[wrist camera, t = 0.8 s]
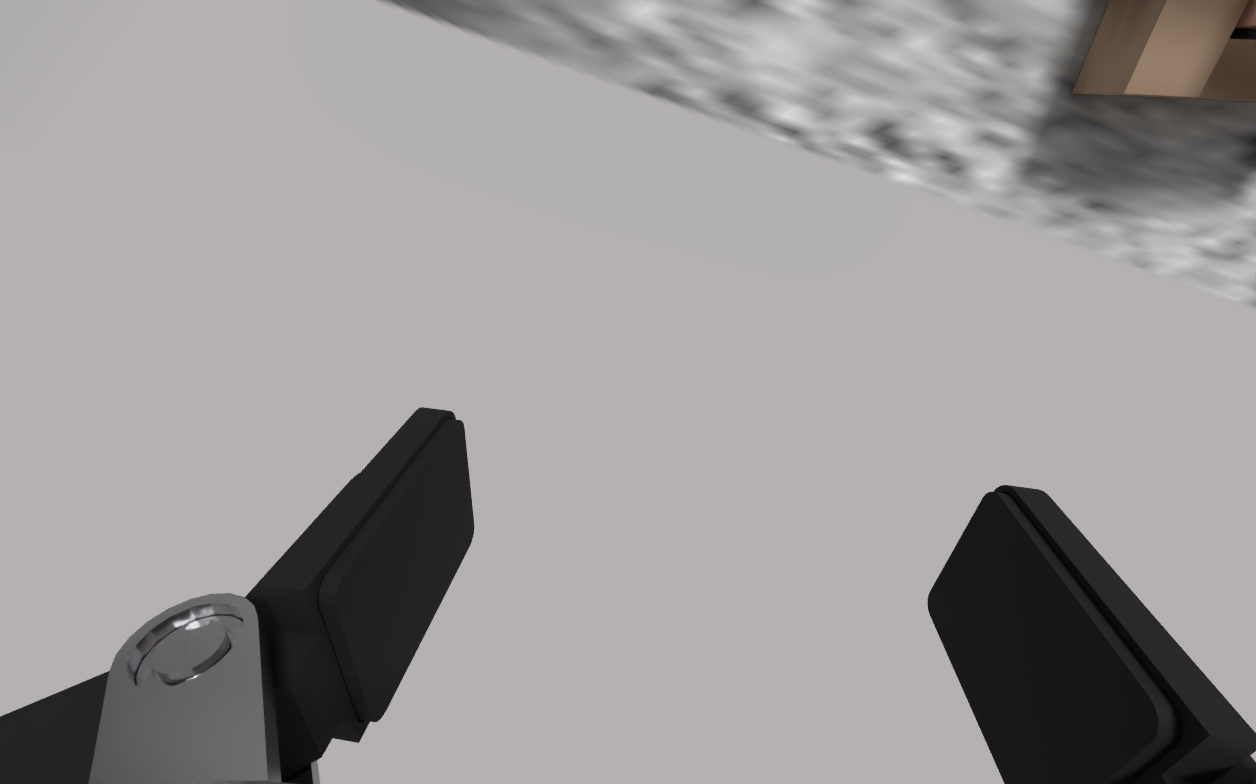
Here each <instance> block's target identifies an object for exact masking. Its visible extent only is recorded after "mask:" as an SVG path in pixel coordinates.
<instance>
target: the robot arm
mask: <svg viewBox="0 0 1256 784" xmlns="http://www.w3.org/2000/svg"><path fill="white" fill-rule="evenodd" d="M473 534H474V519H473V509H472V499H471V489H470V479H469V469H468V459H467V450H466V440H465V430H464V424H463V422H462V421H461V420H456V418H455V415H454V413H453V412H451V411H446V410H438V409H430V408H423V407H422V408H419V409H418V410H416V411H415V413H414V414H413V415H412V416H411V417H410V418H409V419H408V420H407V421H406V423H405V424H404V425H403V426H402V427H401V428H400V429H399V430H398V431H397V433H396V434H395V435H394V436H393V437H392V438H391V439H390V440H389V441H388V443H387V444H386V445H385V446H384V447H383V448H382V449H381V451H380V452H379V453H378V454H377V455H376V456H375V457H374V458H373V459H372V460H371V462H370V463H369V464H368V465H367V466H366V467H365V468H364V470H362V472H361V473H359V474H357V475H356V476H355V477H354V478H353V479H351V480H350V482H349V483H348V484H347V485H346V486H345V487H344V488H343V489H342V490H341V492H340V493H339V494H338V495H337V496H336V497H335V498H334V499H333V500H332V502H331V503H330V504H329V505H328V506H327V507H326V508H325V509H324V510H323V511H322V513H321V514H320V515H319V516H318V517H317V518H316V519H315V520H314V521H313V523H312V524H311V525H310V526H309V527H308V528H307V529H306V531H305V532H304V533H303V534H302V535H301V536H300V537H299V538H298V539H297V540H296V541H295V543H294V544H293V545H292V546H291V547H290V548H289V549H288V550H287V551H286V552H285V554H284V555H283V556H282V557H281V558H280V559H279V560H278V561H277V562H276V563H275V565H274V566H273V567H272V568H271V569H270V570H269V571H268V572H267V574H266V575H265V576H264V577H263V578H262V579H261V580H260V581H259V582H258V583H257V585H256V586H255V587H254V588H253V589H252V590H251V591H250V592H249V593H248V595H247V596H246V597H242V596H238V595H234V594H230V593H227V594H226V593H225V594H209V595H205V596H201V597H197V598H193V599H190V600H187V601H185V602H183V603H180V604H178V605H176V606H173V607H171V608H169V609H167V610H165V611H164V612H162V613H161V614H159V615H157V616H156V617H154V618H152V619H151V620H149V621H148V622H146V623H145V624H144V625H143V626H142V627H141V628H140V629H138V630H137V631H136V632H135V633H134V634H133V635H132V636H130V637H129V639H128V640H127V641H126V642H125V644H124V645H123V646H122V648H121V649H120V650H119V651H118V653H117V654H116V656H115V658H114V661H113V663H112V666H111V669H110V671H108V672H106V673H104V674H101V675H99V676H96V677H94V678H92V679H89V680H87V681H85V682H82V683H80V684H78V685H75V686H72V687H70V688H68V689H65V690H63V691H61V692H58V693H56V694H53V695H51V696H49V697H46V698H44V699H41V700H39V701H37V702H34V703H32V704H30V705H27V706H25V707H23V708H20V709H18V710H15V711H13V712H10V713H8V714H6V715H3V716H1V717H0V784H320V780H319V772H318V764H317V760H318V759H319V758H321V757H322V755H323V754H324V752H325V750H326V748H327V747H328V745H329V743H330V741H331V740H332V738H335V739H341V740H346V741H352V742H358V743H359V741H360V739H361V738H362V735H363V734H364V732H365V730H366V728H367V726H368V724H369V722H370V721H371V722H377V721H379V720H380V719H381V717H382V716H383V715H384V713H385V711H386V710H387V708H388V706H389V704H390V702H391V700H392V698H393V696H394V694H395V692H396V690H397V688H398V686H399V684H400V682H401V680H402V678H403V676H404V674H405V672H406V670H407V668H408V667H409V665H410V663H411V661H412V659H413V657H414V655H415V653H416V651H417V649H418V647H419V645H420V643H421V641H422V639H423V637H424V635H425V633H426V631H427V629H428V627H429V625H430V623H431V621H432V619H433V617H434V615H435V613H436V611H437V609H438V607H439V605H440V604H441V602H442V600H443V597H444V596H445V594H446V592H447V590H448V588H449V586H450V584H451V582H452V580H453V578H454V576H455V574H456V572H457V570H458V568H459V566H460V564H461V562H462V560H463V558H464V556H465V554H466V552H467V550H468V548H469V546H470V544H471V542H472V538H473ZM928 610H929V613H930V616H931V618H932V620H933V623H934V625H935V628H936V630H937V632H938V634H939V637H940V639H941V641H942V643H943V645H944V648H945V650H946V652H947V655H948V657H949V659H950V661H951V664H952V666H953V668H954V670H955V673H956V675H957V677H958V679H959V682H960V684H961V686H962V688H963V691H964V693H965V695H966V698H967V700H968V702H969V704H970V707H971V709H972V711H973V713H974V716H975V718H976V720H977V722H978V725H979V727H980V729H981V731H982V734H983V736H984V738H985V740H986V742H987V745H988V747H989V749H990V752H991V754H992V756H993V758H994V761H995V763H996V765H997V768H998V769H999V772H1000V774H1001V776H1002V779H1003V781H1004V783H1005V784H1256V762H1255V761H1254V760H1253V758H1252V757H1251V756H1250V755H1251V754H1252V753H1254V752H1255V751H1256V733H1255V732H1254V731H1253V730H1252V728H1251V727H1250V726H1249V725H1248V724H1247V723H1246V722H1245V720H1244V719H1243V718H1242V717H1241V716H1240V715H1239V714H1238V712H1237V711H1236V710H1235V709H1234V708H1233V707H1232V705H1231V704H1230V703H1229V702H1228V701H1227V700H1226V699H1225V697H1224V696H1223V695H1222V694H1221V693H1220V692H1219V691H1218V689H1217V688H1216V687H1215V686H1214V685H1213V684H1212V683H1211V681H1210V680H1209V679H1208V678H1207V677H1206V676H1205V674H1204V673H1203V672H1202V671H1201V670H1200V669H1199V668H1198V666H1197V665H1196V664H1195V663H1194V662H1193V661H1192V660H1191V658H1190V657H1189V656H1188V655H1187V654H1186V653H1185V651H1184V650H1183V649H1182V648H1181V647H1180V646H1179V645H1178V643H1177V642H1176V641H1175V640H1174V639H1173V638H1172V637H1171V636H1170V635H1169V633H1168V632H1167V631H1166V630H1165V629H1164V627H1163V626H1162V625H1161V624H1160V623H1159V622H1158V621H1157V619H1156V618H1155V617H1154V616H1153V615H1152V614H1151V612H1150V611H1149V610H1148V609H1147V608H1146V607H1145V606H1144V605H1143V603H1142V602H1141V601H1140V600H1139V599H1138V597H1137V596H1136V595H1135V594H1134V593H1133V592H1132V591H1131V589H1130V588H1129V587H1128V586H1127V585H1126V584H1125V583H1124V581H1123V580H1122V579H1121V578H1120V577H1119V576H1118V575H1117V573H1116V572H1115V571H1114V570H1113V569H1112V568H1111V567H1110V565H1109V564H1108V563H1107V562H1106V561H1105V560H1104V558H1103V557H1102V556H1101V555H1100V554H1099V553H1098V552H1097V550H1096V549H1095V548H1094V547H1093V546H1092V545H1091V544H1090V542H1089V541H1088V540H1087V539H1086V538H1085V537H1084V535H1083V534H1082V533H1081V532H1080V531H1079V530H1078V529H1077V528H1076V526H1075V525H1074V524H1073V523H1072V522H1071V521H1070V519H1069V518H1068V517H1067V516H1066V515H1065V514H1064V513H1063V511H1062V510H1061V509H1060V508H1059V507H1058V506H1057V504H1056V503H1055V502H1054V501H1053V500H1052V499H1051V498H1050V496H1048V495H1047V494H1046V493H1045V492H1044V491H1041V490H1038V489H1031V488H1024V487H1016V486H1009V485H1003V486H1000V487H998V488H996V489H995V491H994V492H989V493H987V494H985V496H984V497H983V498H982V500H981V502H980V504H979V506H978V507H977V509H976V511H975V513H974V514H973V516H972V518H971V520H970V522H969V523H968V525H967V527H966V529H965V530H964V532H963V534H962V536H961V538H960V539H959V541H958V543H957V545H956V547H955V548H954V550H953V552H952V554H951V556H950V557H949V559H948V561H947V562H946V564H945V566H944V568H943V570H942V571H941V573H940V575H939V577H938V578H937V580H936V582H935V584H934V586H933V587H932V589H931V591H930V593H929V596H928Z"/></svg>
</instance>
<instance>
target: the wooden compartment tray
mask: <svg viewBox="0 0 1256 784" xmlns="http://www.w3.org/2000/svg"><path fill="white" fill-rule="evenodd" d="M1248 2H1249V0H1110V1H1109V3H1108V6H1107V8H1106V11H1105V13H1104V16H1103V18H1102V20H1101V23H1100V25H1099V28H1098V30H1097V32H1096V35H1095V37H1094V40H1093V42H1092V45H1091V47H1090V49H1089V52H1088V54H1087V57H1086V59H1085V61H1084V64H1083V66H1082V69H1081V71H1080V74H1079V76H1078V78H1077V81H1076V83H1075V86H1074V88H1073V90H1072V93H1074V94H1095V95H1116V96H1138V97H1159V98H1180V99H1202V100H1223V101H1244V102H1256V40H1248V39H1229V38H1230V36H1231V34H1232V32H1233V30H1234V29H1235V27H1236V25H1237V23H1238V21H1239V19H1240V17H1241V15H1242V13H1243V11H1244V9H1245V8H1246V6H1247V4H1248Z"/></svg>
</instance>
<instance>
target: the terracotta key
mask: <svg viewBox="0 0 1256 784" xmlns="http://www.w3.org/2000/svg"><path fill="white" fill-rule="evenodd" d="M1235 28H1246V29H1256V0H1249V2H1248V4H1247V6H1246V8H1245V9H1244V11H1243V13H1242V15H1241V17H1240V19H1239V21H1238V23H1237V25H1236V27H1235Z"/></svg>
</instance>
